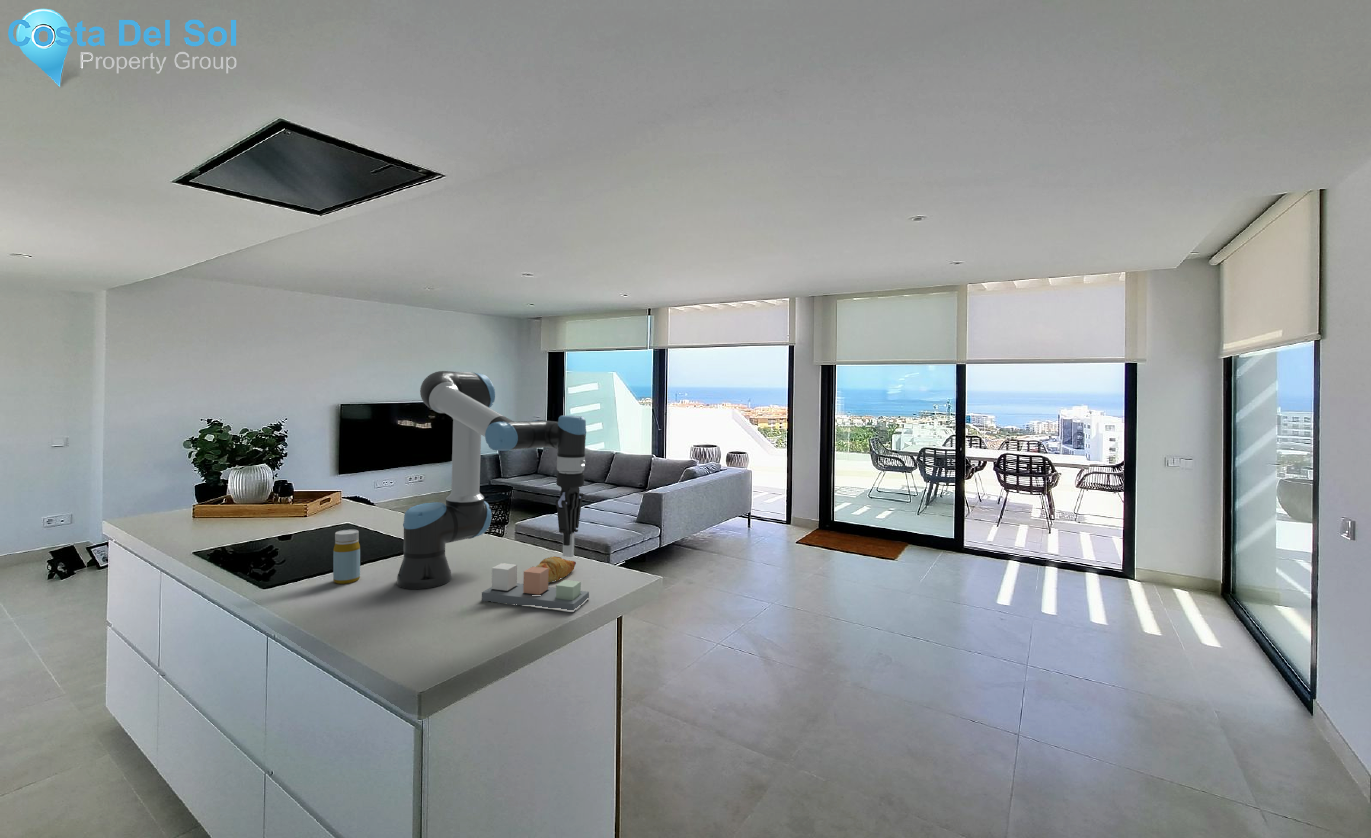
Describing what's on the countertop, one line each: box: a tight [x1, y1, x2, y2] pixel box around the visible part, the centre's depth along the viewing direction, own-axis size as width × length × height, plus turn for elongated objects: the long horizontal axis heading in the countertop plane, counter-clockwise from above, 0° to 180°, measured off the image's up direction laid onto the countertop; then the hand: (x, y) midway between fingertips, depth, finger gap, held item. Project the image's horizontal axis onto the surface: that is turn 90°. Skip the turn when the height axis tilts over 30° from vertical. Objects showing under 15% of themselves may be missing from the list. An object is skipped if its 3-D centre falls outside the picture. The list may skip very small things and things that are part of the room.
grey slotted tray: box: [481, 582, 590, 610], centre depth 162 cm, size 28×10×2 cm, turn 76°
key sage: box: [555, 579, 582, 601], centre depth 159 cm, size 5×5×6 cm
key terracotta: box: [522, 566, 549, 595], centre depth 162 cm, size 5×5×6 cm
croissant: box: [535, 556, 577, 583], centre depth 182 cm, size 21×10×8 cm, turn 148°
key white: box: [491, 562, 518, 591], centre depth 164 cm, size 5×5×6 cm
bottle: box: [332, 529, 361, 585], centre depth 174 cm, size 7×7×15 cm
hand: (568, 555), depth 159 cm, fingers closed
